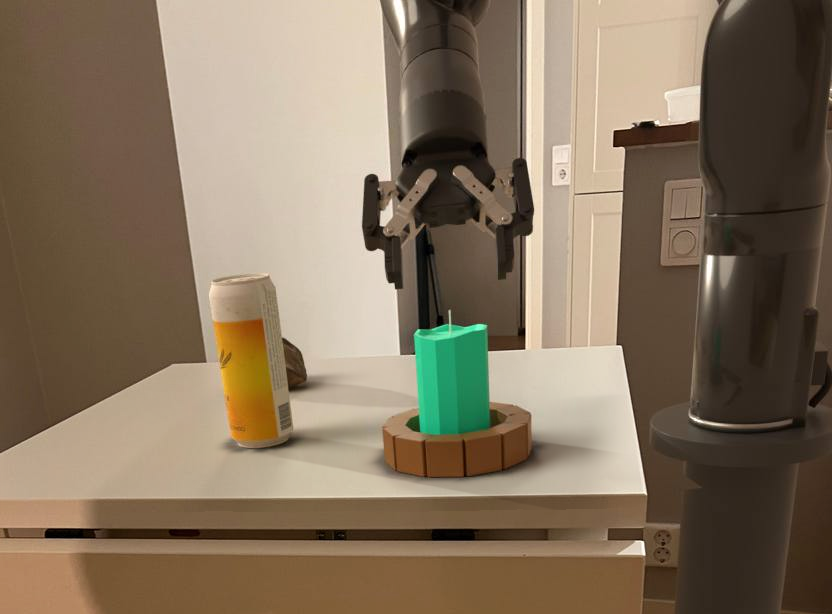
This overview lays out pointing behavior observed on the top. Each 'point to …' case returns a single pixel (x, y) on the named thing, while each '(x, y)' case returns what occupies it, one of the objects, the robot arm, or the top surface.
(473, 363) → the candle
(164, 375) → the top surface
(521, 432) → the brown segmented block ring
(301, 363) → the fossilized seashell
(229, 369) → the beer can
